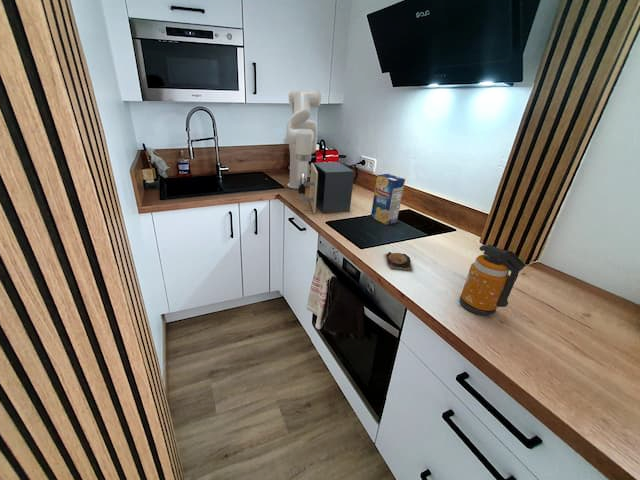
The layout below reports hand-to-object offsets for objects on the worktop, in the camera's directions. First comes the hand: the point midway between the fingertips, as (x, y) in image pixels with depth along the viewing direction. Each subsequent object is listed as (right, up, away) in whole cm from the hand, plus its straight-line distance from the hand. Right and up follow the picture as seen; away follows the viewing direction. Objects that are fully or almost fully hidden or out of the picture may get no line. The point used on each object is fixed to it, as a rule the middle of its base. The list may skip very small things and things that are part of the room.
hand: (301, 192), depth 148 cm
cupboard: (+17, -6, +13) cm, 22 cm away
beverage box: (+41, -14, -5) cm, 43 cm away
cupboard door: (+3, -6, +12) cm, 14 cm away
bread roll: (+33, -31, -41) cm, 61 cm away
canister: (+48, -41, -64) cm, 90 cm away
